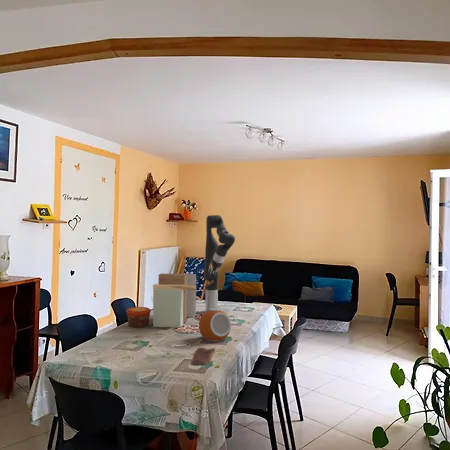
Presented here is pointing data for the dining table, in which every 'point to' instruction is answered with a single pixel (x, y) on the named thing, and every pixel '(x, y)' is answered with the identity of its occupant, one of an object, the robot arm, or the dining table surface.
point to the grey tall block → (191, 297)
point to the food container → (138, 317)
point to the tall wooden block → (176, 280)
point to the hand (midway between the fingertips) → (210, 278)
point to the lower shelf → (167, 308)
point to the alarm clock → (214, 325)
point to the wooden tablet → (202, 356)
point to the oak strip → (174, 287)
